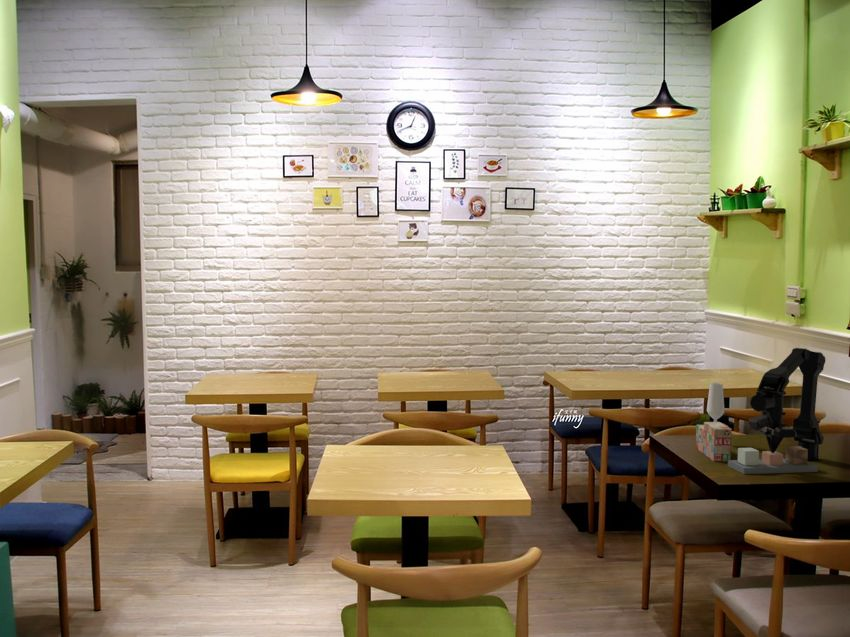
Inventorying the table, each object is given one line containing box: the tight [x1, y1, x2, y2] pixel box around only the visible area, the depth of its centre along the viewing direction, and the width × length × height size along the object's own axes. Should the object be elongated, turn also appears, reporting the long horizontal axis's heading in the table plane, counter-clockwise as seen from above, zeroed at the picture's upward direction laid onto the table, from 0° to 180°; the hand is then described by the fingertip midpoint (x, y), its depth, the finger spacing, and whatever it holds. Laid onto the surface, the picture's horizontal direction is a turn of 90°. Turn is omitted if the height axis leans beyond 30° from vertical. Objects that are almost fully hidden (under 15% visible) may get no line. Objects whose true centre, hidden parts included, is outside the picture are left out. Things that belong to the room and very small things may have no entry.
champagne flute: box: [706, 382, 726, 422], centre depth 313 cm, size 7×7×24 cm
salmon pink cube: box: [761, 450, 784, 465], centre depth 274 cm, size 5×5×5 cm
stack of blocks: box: [695, 421, 733, 462], centre depth 295 cm, size 21×6×12 cm, turn 178°
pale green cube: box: [737, 447, 760, 466], centre depth 273 cm, size 5×5×5 cm
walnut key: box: [785, 445, 808, 464], centre depth 275 cm, size 5×5×5 cm
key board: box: [727, 458, 819, 475], centre depth 275 cm, size 27×11×2 cm, turn 96°
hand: (772, 452), depth 274 cm, fingers closed
